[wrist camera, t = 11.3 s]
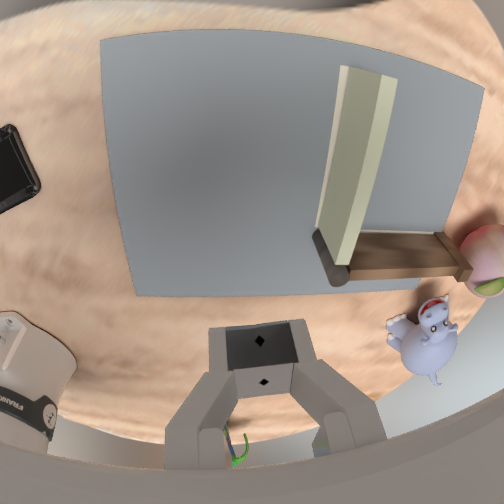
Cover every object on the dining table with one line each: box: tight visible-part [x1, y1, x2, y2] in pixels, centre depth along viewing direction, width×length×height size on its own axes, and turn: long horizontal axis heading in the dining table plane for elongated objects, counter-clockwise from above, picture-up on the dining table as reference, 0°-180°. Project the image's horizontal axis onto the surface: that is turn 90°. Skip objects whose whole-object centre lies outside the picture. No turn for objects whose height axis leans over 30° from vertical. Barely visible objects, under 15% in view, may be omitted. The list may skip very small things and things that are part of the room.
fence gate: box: [318, 67, 398, 265], centre depth 22 cm, size 15×1×6 cm, turn 175°
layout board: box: [100, 29, 485, 297], centre depth 27 cm, size 34×26×1 cm
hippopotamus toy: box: [386, 294, 458, 386], centre depth 37 cm, size 11×15×10 cm
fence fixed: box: [312, 229, 474, 287], centre depth 28 cm, size 16×2×7 cm, turn 87°
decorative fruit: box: [459, 224, 504, 298], centre depth 28 cm, size 9×8×10 cm
